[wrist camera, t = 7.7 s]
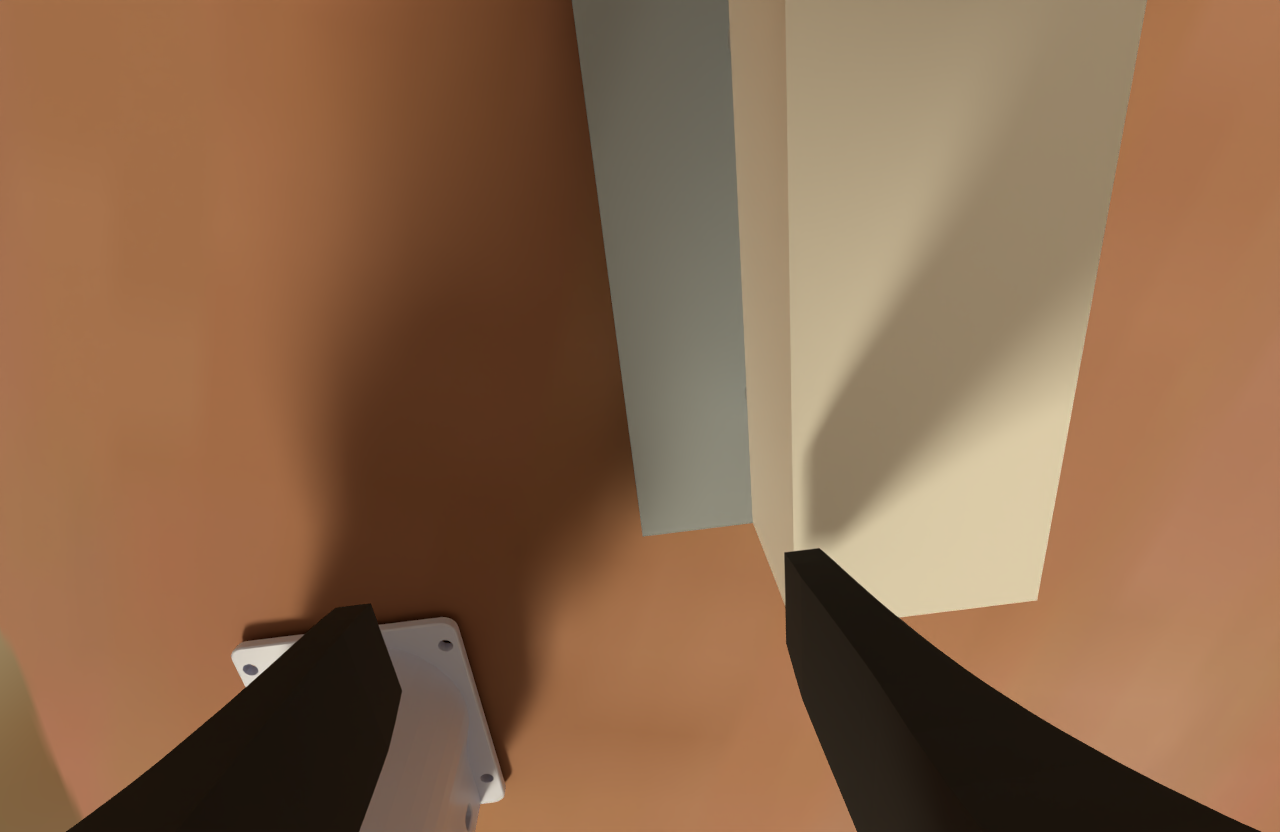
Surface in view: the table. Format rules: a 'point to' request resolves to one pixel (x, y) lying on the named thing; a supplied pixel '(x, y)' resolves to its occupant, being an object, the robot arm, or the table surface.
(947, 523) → the cream rectangular block
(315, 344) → the table surface
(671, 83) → the flat gray board
